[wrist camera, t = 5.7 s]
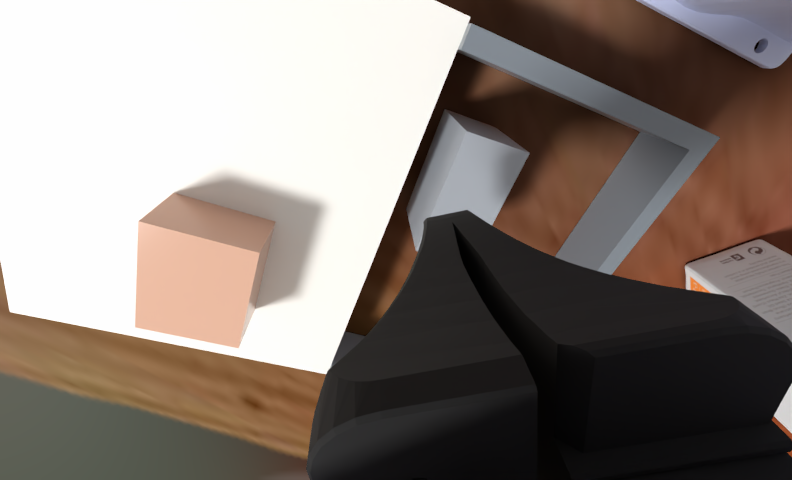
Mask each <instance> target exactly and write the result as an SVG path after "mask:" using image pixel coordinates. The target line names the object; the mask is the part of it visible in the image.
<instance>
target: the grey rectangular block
mask: <svg viewBox="0 0 792 480" xmlns="http://www.w3.org/2000/svg"><path fill="white" fill-rule="evenodd" d="M529 154H530V153H529V152H528V151H526V150H525V149H524V148H522V147H521V146H520V145H518V144H517V143H516V142H514V141H513V140H512V139H510V138H509V137H508V136H506V135H505V134H504V133H502V132H501V131H500V130H498V129H497V128H496V127H493V126H491V125H488V124H485V123H482V122H479V121H477V120H474V119H471V118H468V117H465V116H463V115H460V114H457V113H454V112H452V111H449V110H446V109H444V112H443V114H442V117H441V120H440V122H439V125H438V127H437V130H436V132H435V135H434V138H433V140H432V143H431V145H430V148H429V151H428V153H427V156H426V158H425V161H424V164H423V166H422V169H421V171H420V174H419V177H418V179H417V182H416V184H415V187H414V190H413V192H412V195H411V197H410V200H409V203H408V205H407V208H406V210H407V214H408V219H409V223H410V227H411V232H412V236H413V240H414V245H415V249H416V251H418V250H419V247H420V244H421V240H422V235H423V229H424V224H423V222H424V220H425V219H426V218H429V217H434V216H439V215H444V214H449V213H454V212H459V211H464V210H468V211H470V212H472V213H473V214H475V215H476V216H478V217H479V218H481V219H482V220H484V221H485V222H487V223H489V224H490V225H492V224H493V222H494V221H495V219H496V217H497V215H498V213H499V211H500V209H501V207H502V205H503V203H504V201H505V200H506V198H507V196H508V194H509V192H510V190H511V188H512V186H513V184H514V182H515V180H516V179H517V177H518V175H519V173H520V171H521V169H522V167H523V165H524V163H525V161H526V159H527V158H528V156H529Z"/></svg>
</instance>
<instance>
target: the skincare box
mask: <svg viewBox="0 0 792 480" xmlns="http://www.w3.org/2000/svg"><path fill="white" fill-rule="evenodd" d="M685 273H686V289H687V290H694V291H701V292H708V293H715V294H722V295H729V296H733V297H734V298H736V299H737V300H739V301H740V302H742V303H743V304H744V305H746V306H747V307H748V308H750V309H751V310H752V311H754V312H755V313H756V314H758V315H759V316H760V317H762V318H763V319H765V320H766V321H767V322H769V323H770V324H771V325H773V326H774V327H775V328H777V329H778V330H779V331H781V332H782V333H783V334H785V335H786V336H787V337H788V338H789V339H790V341H791V342H792V256H791V255H790V254H788V253H786V252H784V251H782V250H780V249H778V248H777V247H775V246H773V245H771V244H769V243H767V242H766V241H764V240H760V239H758V240H754V241H751V242H748V243H745V244H742V245H739V246H737V247H734V248H731V249H728V250H725V251H722V252H720V253H717V254H714V255H711V256H708V257H705V258H702V259H699V260H697V261H694V262H691V263H688V264H686V265H685ZM774 417H775V418H777V419H778V420H779V421H780V422H781V423H782V424H783V425H784V426H785V427H786V428H787V429H788V430H789V431H790V432H791V433H792V384H791V386H790V387H789V389H788V391H787V393H786V395H785V396H784V398H783V400H782V402H781V404H780V405H779V407H778V409H777V411H776V413H775V414H774Z"/></svg>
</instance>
